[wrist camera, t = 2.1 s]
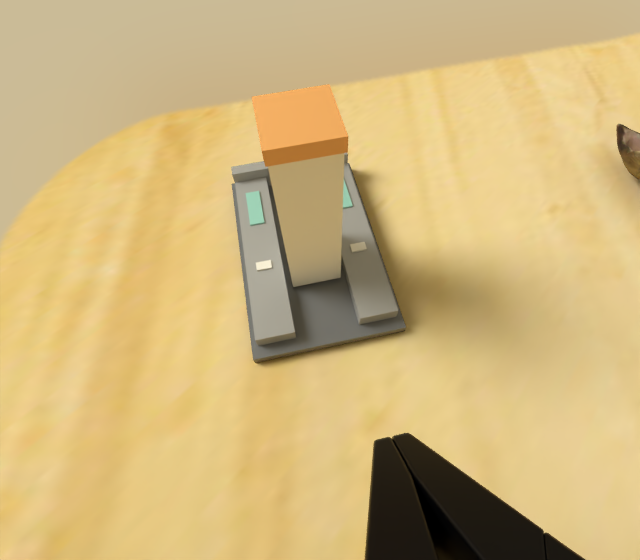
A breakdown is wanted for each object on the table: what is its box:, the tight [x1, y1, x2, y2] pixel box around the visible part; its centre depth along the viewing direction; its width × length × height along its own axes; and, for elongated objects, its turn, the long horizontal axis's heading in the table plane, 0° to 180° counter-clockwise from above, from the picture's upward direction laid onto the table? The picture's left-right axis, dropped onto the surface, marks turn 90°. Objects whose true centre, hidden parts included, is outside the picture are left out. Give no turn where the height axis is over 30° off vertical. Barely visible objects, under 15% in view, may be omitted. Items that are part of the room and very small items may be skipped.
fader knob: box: [252, 84, 348, 287], centre depth 20 cm, size 3×3×11 cm
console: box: [231, 153, 406, 363], centre depth 25 cm, size 15×10×2 cm, turn 12°
